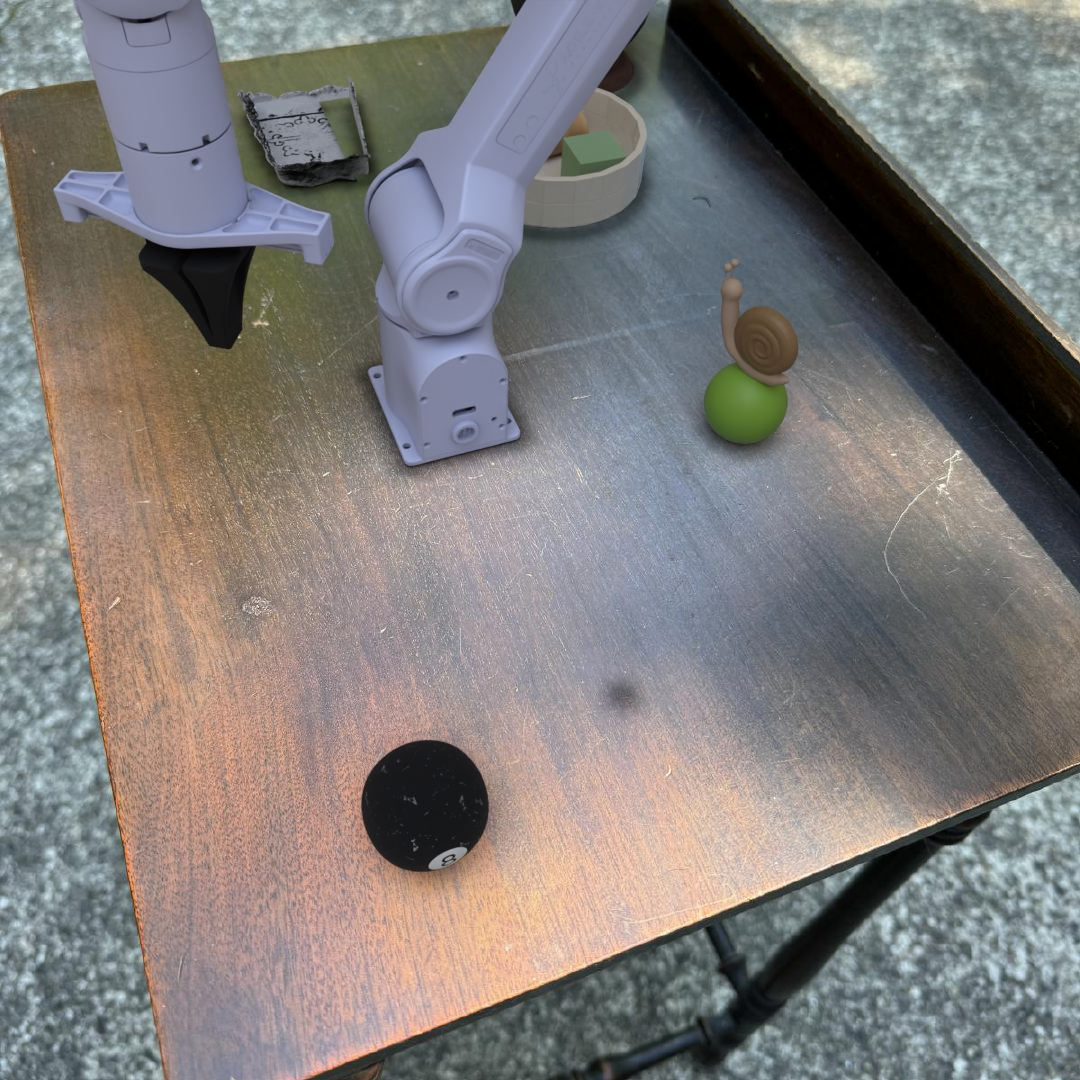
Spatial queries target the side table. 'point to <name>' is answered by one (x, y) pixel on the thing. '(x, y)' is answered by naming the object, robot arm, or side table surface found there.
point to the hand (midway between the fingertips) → (225, 337)
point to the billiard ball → (424, 805)
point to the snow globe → (620, 69)
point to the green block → (589, 154)
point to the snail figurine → (750, 369)
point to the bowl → (595, 192)
